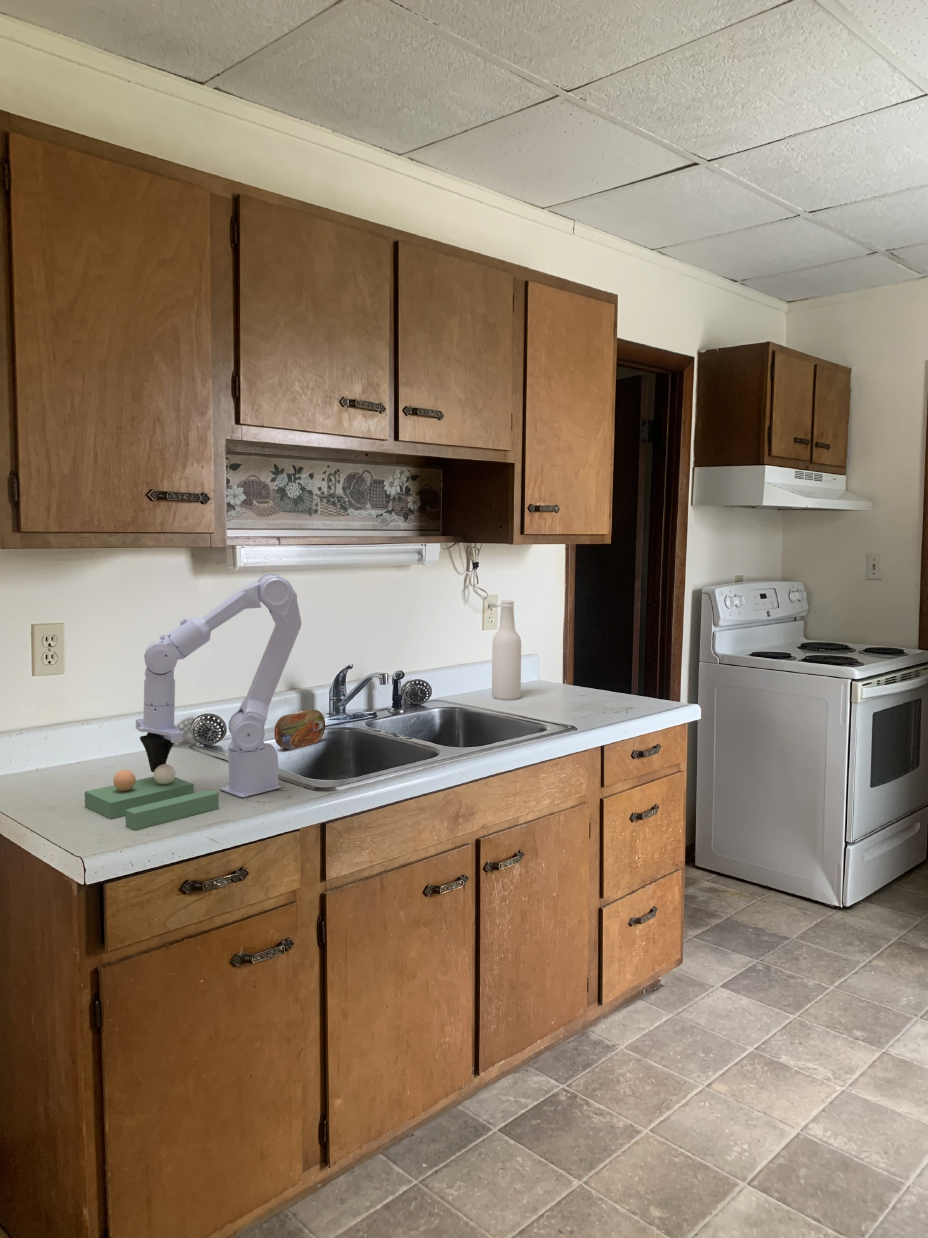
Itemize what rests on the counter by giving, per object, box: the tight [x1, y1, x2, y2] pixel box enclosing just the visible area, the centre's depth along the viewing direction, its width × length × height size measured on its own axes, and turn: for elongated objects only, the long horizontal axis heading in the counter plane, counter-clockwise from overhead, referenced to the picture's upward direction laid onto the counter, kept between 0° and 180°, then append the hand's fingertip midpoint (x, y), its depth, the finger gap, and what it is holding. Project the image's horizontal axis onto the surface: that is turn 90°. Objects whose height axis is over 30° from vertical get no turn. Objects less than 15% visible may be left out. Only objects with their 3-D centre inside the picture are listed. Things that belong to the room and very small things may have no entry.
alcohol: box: [491, 599, 522, 701], centre depth 284 cm, size 9×9×30 cm
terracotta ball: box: [112, 769, 137, 791], centre depth 176 cm, size 4×4×4 cm
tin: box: [274, 709, 326, 751], centre depth 224 cm, size 15×3×8 cm, turn 144°
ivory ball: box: [153, 763, 176, 785], centre depth 181 cm, size 4×4×4 cm
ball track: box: [84, 776, 220, 831], centre depth 176 cm, size 17×19×3 cm
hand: (157, 771), depth 182 cm, fingers closed, pressing on ivory ball
